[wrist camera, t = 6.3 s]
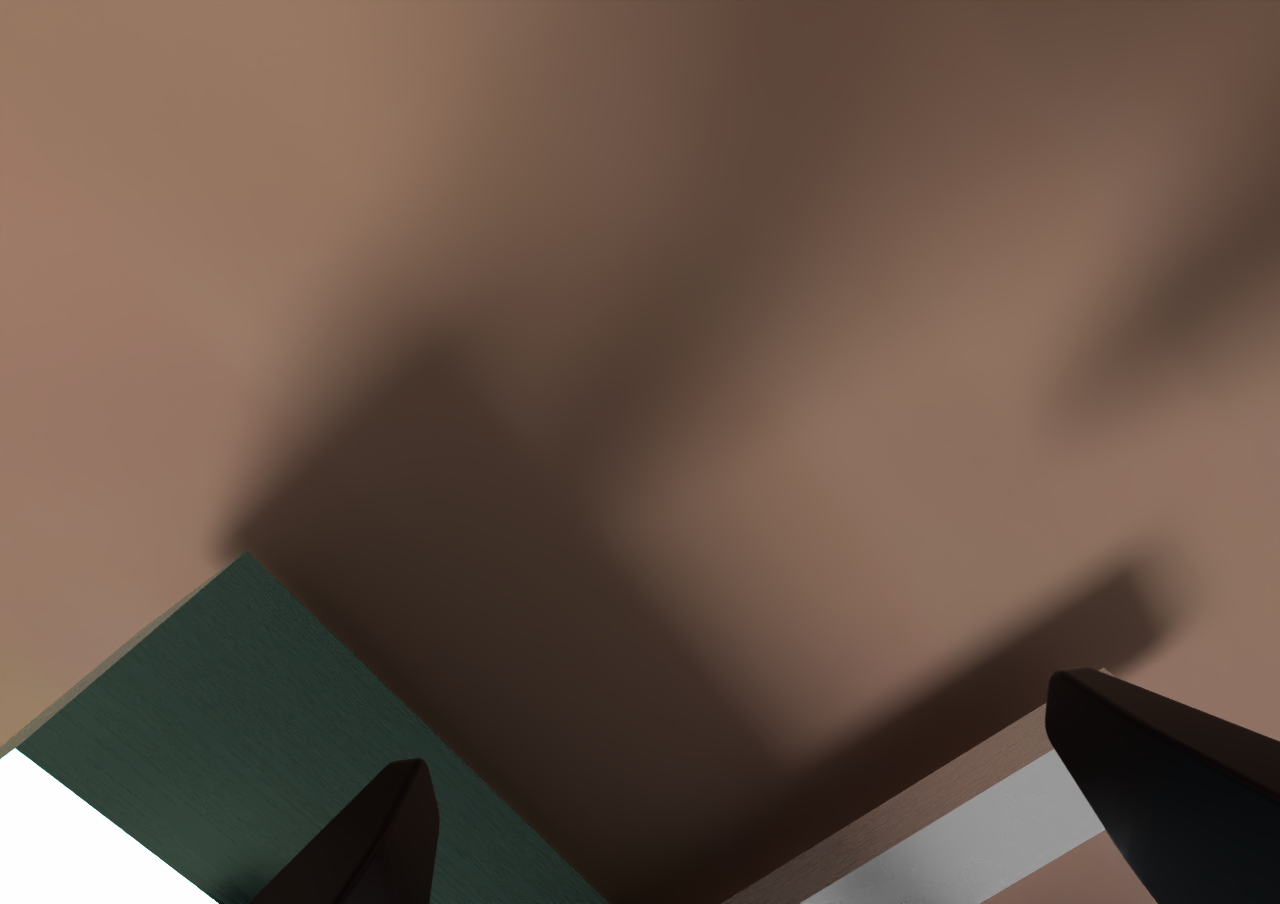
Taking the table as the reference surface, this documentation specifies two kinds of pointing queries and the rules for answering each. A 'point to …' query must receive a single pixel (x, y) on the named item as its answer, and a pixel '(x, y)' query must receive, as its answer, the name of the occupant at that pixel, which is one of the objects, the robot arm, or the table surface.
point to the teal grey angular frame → (468, 808)
